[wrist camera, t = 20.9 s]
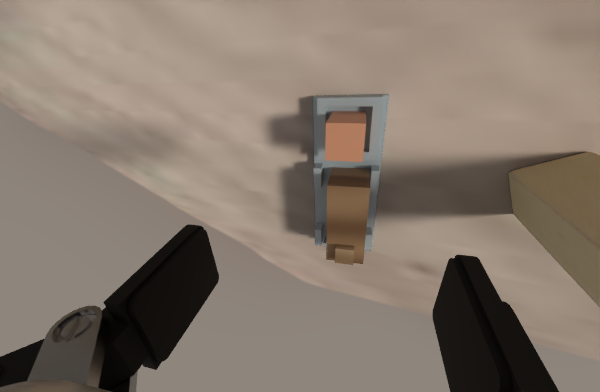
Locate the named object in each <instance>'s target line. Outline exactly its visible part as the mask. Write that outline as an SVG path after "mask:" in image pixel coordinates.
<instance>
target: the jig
mask: <svg viewBox="0 0 600 392" xmlns="http://www.w3.org/2000/svg"><path fill="white" fill-rule="evenodd" d="M388 99H389V94H371V95H322V96H313V119H314V188H315V245H318V246H321V245H322V242H323V247H326V241H327V184H328V180H329V177H330V174H331V171H332V168H333V167H340V168H364V169H370V197H369V207H368V217H367V228H366V238H365V248H364V251H371V247H372V240H373V231H374V222H375V214H376V205H377V196H378V187H379V178H380V170H381V161H382V152H383V143H384V134H385V126H386V117H387V108H388ZM333 111H366V131H365V143H364V154H363V162H351V161H329V160H325V137H326V122H327V120H328V119H329V117H330V116H331V114H332V112H333Z"/></svg>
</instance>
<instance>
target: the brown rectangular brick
mask: <svg viewBox="0 0 600 392" xmlns="http://www.w3.org/2000/svg"><path fill="white" fill-rule="evenodd" d="M365 131H366V111H333V112H332V114H331V116H330V117H329V119H328V120H327V122H326V137H325V160H329V161H351V162H363V154H364V143H365Z"/></svg>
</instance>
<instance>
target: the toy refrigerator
mask: <svg viewBox="0 0 600 392" xmlns="http://www.w3.org/2000/svg"><path fill="white" fill-rule="evenodd" d="M508 176H509V184H510V193H511V200H512V208H513V214H514V215H515V216H516V217H517V219H518V220H519V221H520V222H521V223H522V224H523V225H524V226H525V227H526V228H527V229H528V231H529V232H530V233H531V234H532V235H533V236H534V237H535V238H536V239H537V240H538V241H539V242H540V244H541V245H542V246H543V247H544V248H545V249H546V250H547V251H548V252H549V253H550V254H551V255H552V257H553V258H554V259H555V260H556V261H557V262H558V263H559V264H560V265H561V266H562V267H563V268H564V269H565V271H566V272H567V273H568V274H569V275H570V276H571V277H572V278H573V279H574V280H575V281H576V282H577V284H578V285H579V286H580V287H581V288H582V289H583V290H584V291H585V292H586V293H587V294H588V295H589V296H590V297H591V299H592V300H593V301H594V302H595V303H596V304H597V305H598V306H599V307H600V155H597V154H595V153H592V152H586V153H581V154H577V155H573V156H569V157H565V158H561V159H557V160H553V161H549V162H545V163H541V164H537V165H533V166H528V167H524V168H520V169H517V170H513V171H510V172H509V173H508Z"/></svg>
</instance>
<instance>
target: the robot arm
mask: <svg viewBox="0 0 600 392" xmlns="http://www.w3.org/2000/svg"><path fill="white" fill-rule="evenodd" d="M218 280H219V274H218V271H217V268H216V263H215V260H214V256H213V253H212V249H211V246H210V242H209V238H208V235H207V232H206V230H204V229H203V227H202V226H198V225H186V226H185V227H184V228H183V229H182V230H181V231H180V232H178V233H177V234H176V235H175V236H174V237H173V238H172V239H171V240H170V241H169V242H168V243H167V244H166V245H164V246H163V248H161V249H160V250H159V251H158V252H157V253H156V254H155V255H154V256H153V257H152V258H151V259H149V260H148V261H147V262H146V263H145V264H144V265H143V266H142V267H141V268H140V269H139V270H138V271H137V272H136V273H134V274H133V275H132V276H131V277H130V278H129V279H128V280H127V281H126V282H125V283H124V284H123V285H122V286H120V288H118V289H117V290H116V291H115V292H114V293H113V294H112V295H111V296H110V297H109V298H108V299H106V300H105V301H104V304H105V306H106V308H105V309H103V310H101V309H100V307H97V306H86V307H82V308H79V309H77V310H74V311H72V312H70V313H69V314H67V315H65V316H64V317H62V318H61V319H60V320H59V321H57V322H56V323H55V324H54V325H53V326H52V328H51V329H50V330H49V332H48V333H47V335H46V337H45V339H43V340H40V341H38V342H35V343H33V344H30V345H28V346H26V347H23V348H21V349H18V350H16V351H14V352H11V353H9V354H6V355H4V356H2V357H0V392H136V385H137V371H138V369H139V368H140V366H141V365H142V364H143V366H144V367H148V368H152V369H155V370H156V369H157V368H158V366H159V365H160V363H161V362H162V361H164V360H166V359H167V358H168V357H169V355H170V354H171V352H172V351H173V349H174V348H175V346H176V345H177V343H178V342H179V340H180V339H181V337H182V336H183V334H184V333H185V331H186V330H187V328H188V327H189V325H190V323H191V322H192V321H193V319H194V318H195V316H196V314H197V313H198V312H199V310H200V309H201V307H202V305H203V304H204V303H205V301H206V300H207V298H208V296H209V295H210V293H211V292H212V290H213V289H214V287H215V286H216V284H217V283H218ZM433 322H434V325H435V330H436V334H437V338H438V342H439V346H440V351H441V355H442V359H443V363H444V367H445V371H446V375H447V380H448V384H449V388H450V392H559V391H558V389H557V387H556V385H555V384H554V382H553V380H552V379H551V377H550V375H549V373H548V371H547V370H546V368H545V366H544V364H543V362H542V361H541V359H540V357H539V356H538V354H537V352H536V350H535V348H534V347H533V345H532V343H531V341H530V339H529V338H528V336H527V334H526V332H525V330H524V329H523V327H522V325H521V323H520V322H519V320H518V318H517V316H516V314H515V313H514V311H513V309H512V308H511V307H510V305H509V304H507V303H506V302H502V301H501V299H500V297H499V295H498V294H497V292H496V290H495V288H494V286H493V284H492V282H491V280H490V279H489V277H488V275H487V273H486V271H485V269H484V267H483V266H482V264H481V262H480V260H479V259H478V258H477V257H474V256H465V255H456V256H455V258H454V259H453V258H450V259H449V261H448V264H447V267H446V270H445V273H444V276H443V280H442V283H441V286H440V289H439V292H438V296H437V299H436V302H435V305H434V308H433Z"/></svg>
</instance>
